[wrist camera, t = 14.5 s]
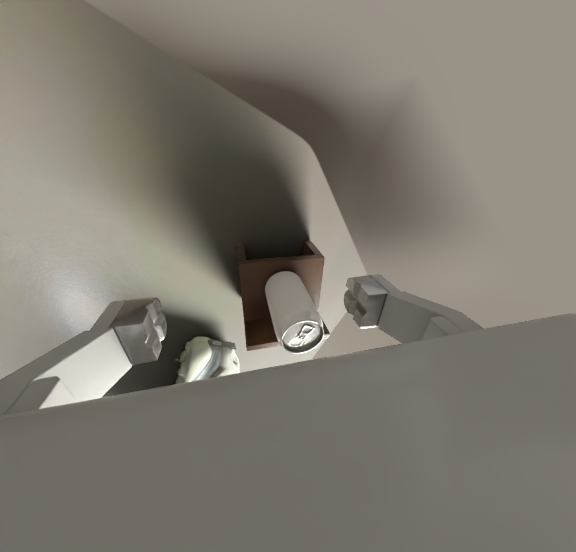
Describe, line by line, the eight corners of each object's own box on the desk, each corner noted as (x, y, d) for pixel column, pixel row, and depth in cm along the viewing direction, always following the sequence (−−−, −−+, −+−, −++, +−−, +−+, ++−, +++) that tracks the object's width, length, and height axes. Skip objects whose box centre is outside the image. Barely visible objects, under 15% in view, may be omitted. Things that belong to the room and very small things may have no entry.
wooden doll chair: (309, 239, 44) (339, 275, 32) (305, 292, 50) (329, 337, 38) (236, 244, 41) (240, 284, 29) (242, 299, 47) (246, 351, 35)
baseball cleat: (148, 451, 50) (217, 448, 56) (174, 366, 39) (258, 373, 45) (160, 406, 59) (219, 408, 64) (184, 325, 47) (253, 336, 53)
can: (257, 295, 38) (268, 350, 28) (276, 264, 35) (295, 311, 25) (289, 306, 40) (309, 359, 30) (308, 277, 38) (336, 325, 28)
